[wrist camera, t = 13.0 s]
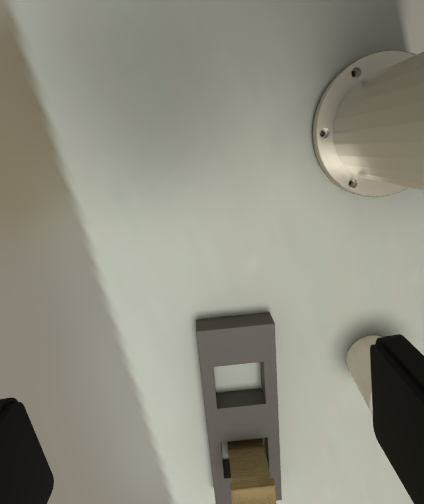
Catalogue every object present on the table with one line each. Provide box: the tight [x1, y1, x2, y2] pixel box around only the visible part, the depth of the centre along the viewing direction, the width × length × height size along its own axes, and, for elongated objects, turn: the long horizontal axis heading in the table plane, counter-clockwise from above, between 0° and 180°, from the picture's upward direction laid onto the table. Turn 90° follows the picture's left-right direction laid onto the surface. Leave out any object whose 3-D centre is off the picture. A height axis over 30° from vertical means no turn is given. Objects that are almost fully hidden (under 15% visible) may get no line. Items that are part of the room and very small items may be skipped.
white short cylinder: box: [346, 335, 381, 415], centre depth 36 cm, size 7×7×7 cm
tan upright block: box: [228, 438, 276, 504], centre depth 39 cm, size 4×4×8 cm
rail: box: [196, 313, 282, 504], centre depth 40 cm, size 8×24×2 cm, turn 5°
